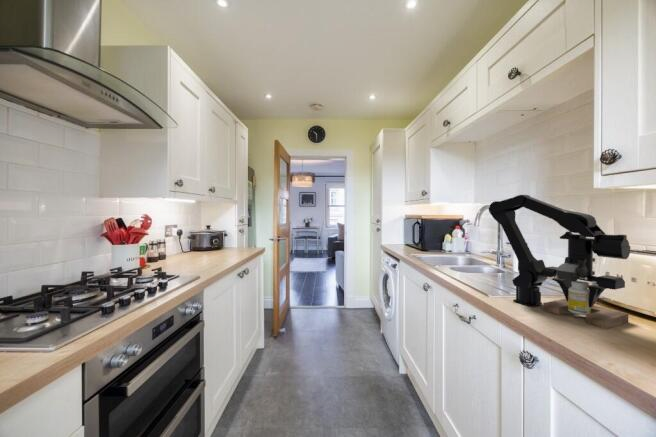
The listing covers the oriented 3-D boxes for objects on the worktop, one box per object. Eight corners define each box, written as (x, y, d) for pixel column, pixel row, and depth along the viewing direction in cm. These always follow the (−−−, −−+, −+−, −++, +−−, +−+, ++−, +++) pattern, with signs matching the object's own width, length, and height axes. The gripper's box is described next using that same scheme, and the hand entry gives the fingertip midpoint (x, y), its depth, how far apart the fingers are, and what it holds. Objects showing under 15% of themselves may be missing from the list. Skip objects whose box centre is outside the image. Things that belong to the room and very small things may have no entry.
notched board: (543, 310, 92) (543, 303, 92) (565, 305, 97) (565, 298, 97) (605, 329, 78) (606, 320, 78) (628, 322, 82) (628, 313, 82)
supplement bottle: (580, 315, 84) (580, 284, 83) (563, 309, 89) (563, 279, 89) (596, 315, 84) (596, 283, 84) (578, 308, 90) (578, 279, 89)
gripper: (531, 252, 92) (531, 298, 92) (604, 261, 74) (603, 318, 75) (552, 250, 96) (551, 294, 96) (626, 258, 79) (625, 312, 79)
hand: (579, 304), depth 87 cm, fingers closed on supplement bottle, 5 cm apart
